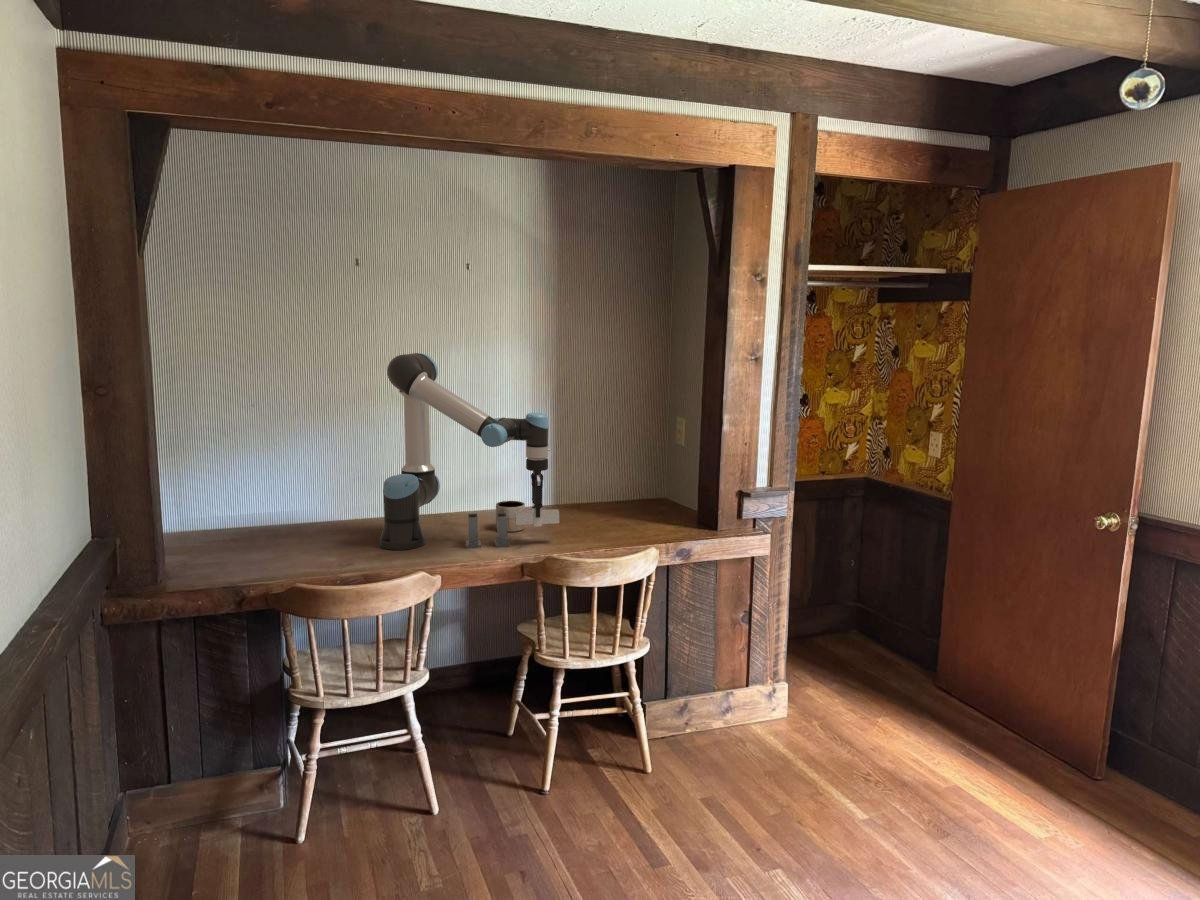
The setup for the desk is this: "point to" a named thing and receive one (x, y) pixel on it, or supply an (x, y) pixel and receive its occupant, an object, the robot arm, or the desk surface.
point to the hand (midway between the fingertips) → (537, 524)
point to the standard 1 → (473, 531)
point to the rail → (528, 516)
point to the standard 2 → (502, 531)
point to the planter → (510, 514)
